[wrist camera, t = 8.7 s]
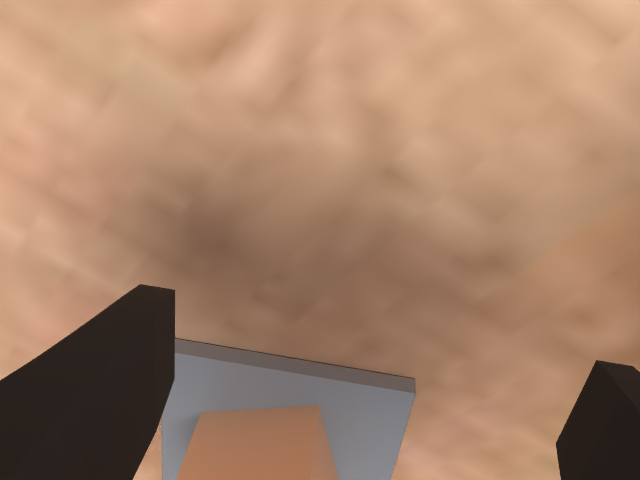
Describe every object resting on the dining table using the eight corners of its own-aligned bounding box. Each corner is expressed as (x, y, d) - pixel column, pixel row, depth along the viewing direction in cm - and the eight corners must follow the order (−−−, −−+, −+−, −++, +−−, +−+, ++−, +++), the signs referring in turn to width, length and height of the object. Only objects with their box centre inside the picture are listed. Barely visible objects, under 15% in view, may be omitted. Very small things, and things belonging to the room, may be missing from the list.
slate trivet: (414, 379, 23) (415, 393, 22) (371, 531, 28) (371, 546, 27) (167, 337, 23) (160, 350, 23) (168, 495, 28) (162, 510, 28)
